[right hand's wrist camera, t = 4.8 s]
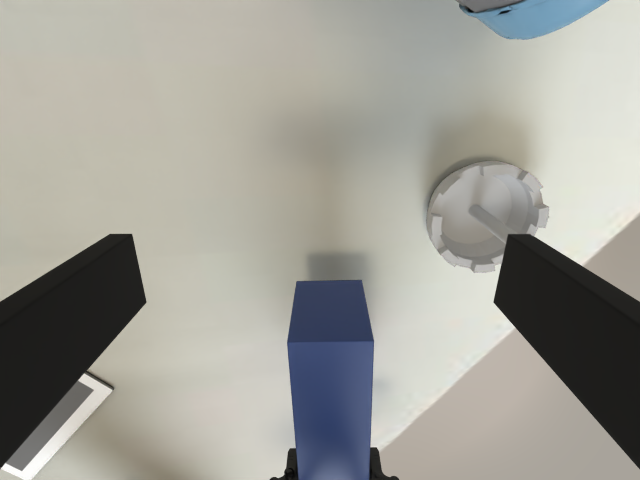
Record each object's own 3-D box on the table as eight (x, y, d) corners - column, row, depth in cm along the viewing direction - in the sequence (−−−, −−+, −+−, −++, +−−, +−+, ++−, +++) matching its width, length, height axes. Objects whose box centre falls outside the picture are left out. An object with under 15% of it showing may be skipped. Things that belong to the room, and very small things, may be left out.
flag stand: (404, 186, 44) (542, 346, 16) (507, 137, 41) (883, 222, 13) (440, 269, 48) (598, 507, 20) (535, 228, 45) (863, 436, 18)
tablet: (30, 480, 67) (28, 482, 66) (-78, 427, 62) (-81, 429, 61) (114, 388, 57) (113, 390, 57) (-5, 318, 52) (-8, 319, 52)
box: (296, 281, 40) (286, 342, 30) (361, 279, 40) (374, 340, 30) (306, 436, 49) (302, 521, 39) (359, 435, 49) (367, 521, 39)
